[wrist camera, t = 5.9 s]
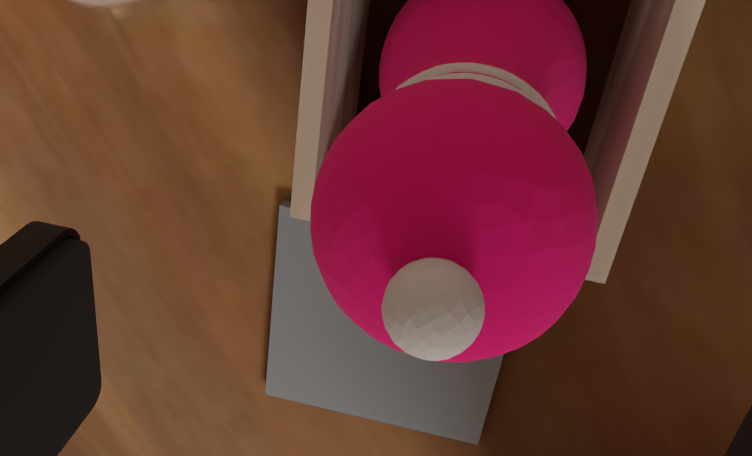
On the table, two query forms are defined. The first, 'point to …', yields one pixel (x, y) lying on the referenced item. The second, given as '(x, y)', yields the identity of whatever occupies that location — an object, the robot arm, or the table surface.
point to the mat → (360, 356)
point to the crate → (608, 134)
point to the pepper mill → (462, 182)
